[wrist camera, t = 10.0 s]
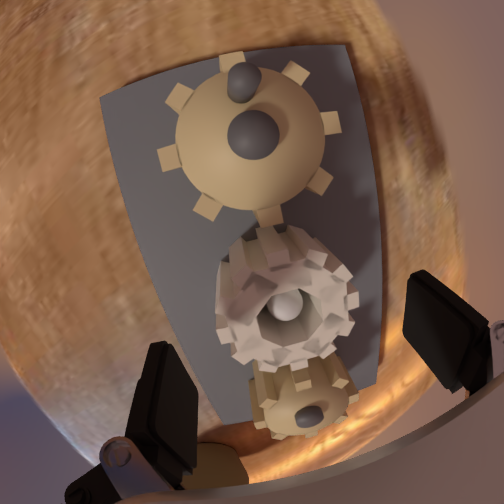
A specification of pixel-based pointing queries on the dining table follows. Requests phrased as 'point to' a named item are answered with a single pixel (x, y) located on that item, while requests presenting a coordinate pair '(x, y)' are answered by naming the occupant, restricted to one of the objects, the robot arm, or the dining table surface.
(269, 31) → the dining table surface
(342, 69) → the gear board
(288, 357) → the cream idler gear
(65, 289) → the dining table surface
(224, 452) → the squeeze bottle
